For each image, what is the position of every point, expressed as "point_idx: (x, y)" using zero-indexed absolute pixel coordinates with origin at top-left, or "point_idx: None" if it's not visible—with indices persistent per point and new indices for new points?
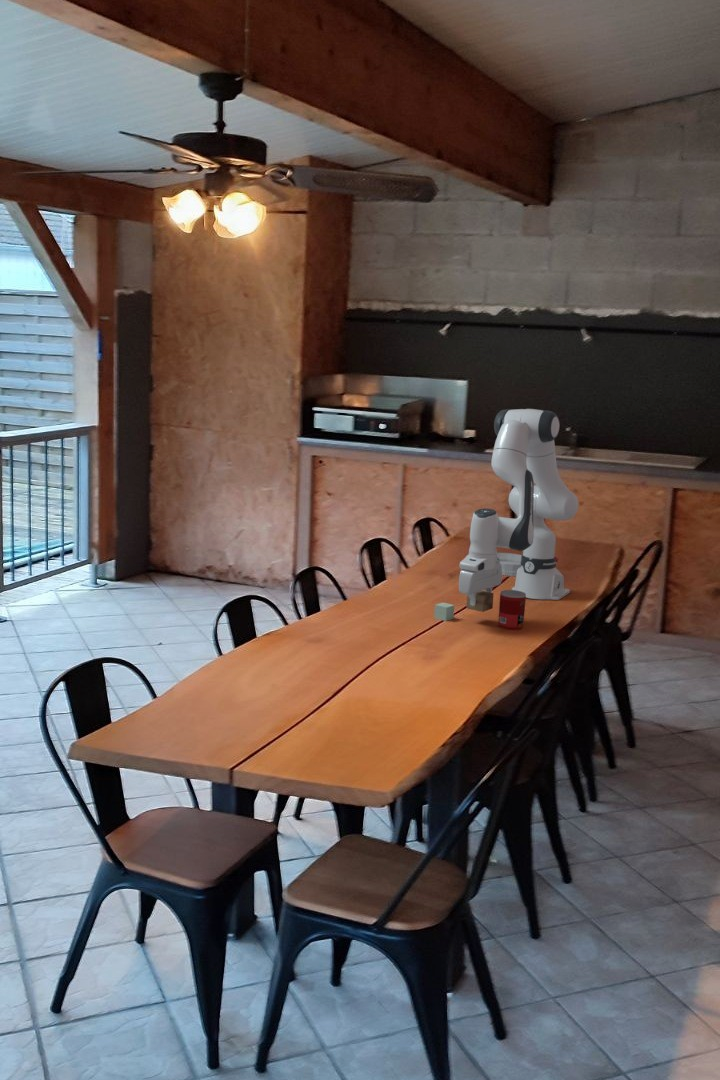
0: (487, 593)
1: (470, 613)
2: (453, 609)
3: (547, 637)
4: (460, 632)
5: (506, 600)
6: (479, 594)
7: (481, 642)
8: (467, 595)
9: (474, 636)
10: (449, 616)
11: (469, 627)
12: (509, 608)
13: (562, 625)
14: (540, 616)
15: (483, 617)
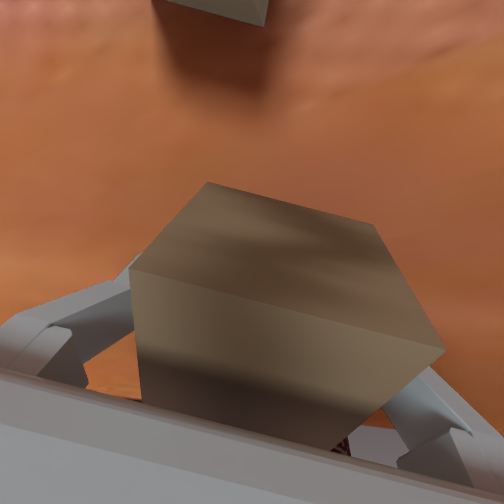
0: (283, 428)
1: (494, 98)
2: (242, 1)
3: None
4: (30, 202)
5: None
6: (191, 384)
7: (15, 299)
8: (150, 249)
9: (46, 266)
10: (193, 1)
11: (141, 211)
12: None
13: (381, 427)
14: (498, 390)
15: (394, 215)
